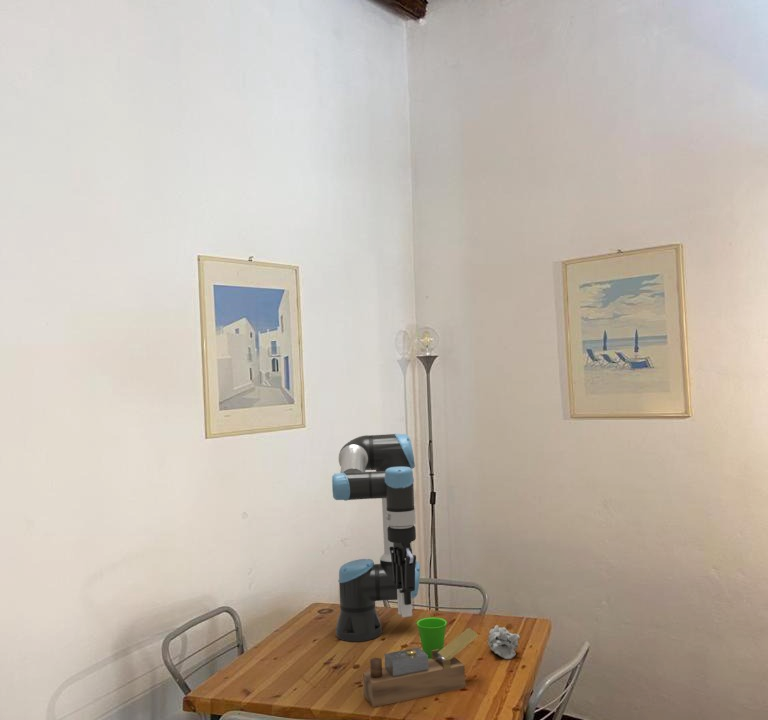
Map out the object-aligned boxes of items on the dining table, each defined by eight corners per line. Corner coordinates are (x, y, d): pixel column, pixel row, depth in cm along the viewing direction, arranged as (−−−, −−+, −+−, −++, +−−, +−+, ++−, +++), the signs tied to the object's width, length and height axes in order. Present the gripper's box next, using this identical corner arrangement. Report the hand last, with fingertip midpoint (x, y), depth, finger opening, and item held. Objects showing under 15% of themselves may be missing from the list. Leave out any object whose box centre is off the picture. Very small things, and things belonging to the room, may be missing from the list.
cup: (447, 666, 205) (445, 628, 205) (415, 665, 206) (414, 627, 207) (450, 654, 213) (448, 617, 214) (420, 653, 215) (418, 616, 216)
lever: (433, 653, 195) (467, 626, 199) (435, 658, 195) (469, 630, 199) (442, 661, 189) (477, 633, 193) (444, 665, 190) (479, 637, 193)
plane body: (363, 694, 189) (362, 656, 189) (452, 676, 198) (450, 640, 198) (373, 707, 181) (371, 667, 182) (465, 687, 190) (463, 649, 191)
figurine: (505, 628, 206) (501, 607, 218) (484, 653, 208) (480, 631, 220) (528, 645, 207) (522, 623, 218) (506, 670, 208) (502, 647, 220)
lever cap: (385, 669, 190) (384, 651, 190) (419, 662, 194) (418, 645, 194) (393, 677, 184) (392, 659, 185) (428, 670, 188) (427, 652, 188)
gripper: (378, 522, 196) (382, 608, 195) (398, 532, 182) (402, 625, 181) (403, 519, 199) (407, 604, 198) (425, 529, 184) (429, 621, 184)
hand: (405, 614), depth 190 cm, fingers open, 2 cm apart
